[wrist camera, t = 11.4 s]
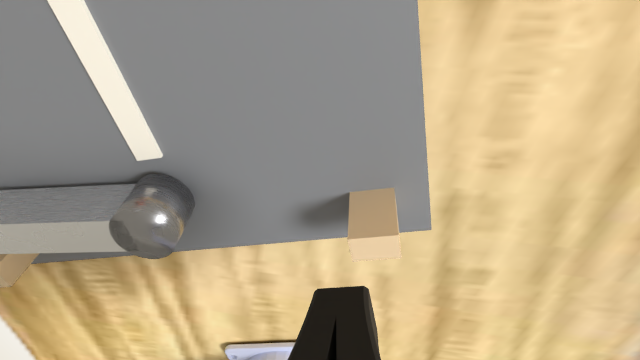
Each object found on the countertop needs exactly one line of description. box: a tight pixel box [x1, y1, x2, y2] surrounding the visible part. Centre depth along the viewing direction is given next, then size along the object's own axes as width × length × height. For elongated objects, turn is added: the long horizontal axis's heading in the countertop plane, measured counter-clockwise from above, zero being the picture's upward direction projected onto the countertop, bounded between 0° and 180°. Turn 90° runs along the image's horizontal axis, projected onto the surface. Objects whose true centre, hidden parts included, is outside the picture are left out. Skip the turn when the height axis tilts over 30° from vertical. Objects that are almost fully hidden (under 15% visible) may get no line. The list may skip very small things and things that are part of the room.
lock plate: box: [0, 0, 431, 288], centre depth 17 cm, size 16×24×4 cm, turn 102°
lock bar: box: [0, 174, 195, 259], centre depth 19 cm, size 12×3×2 cm, turn 97°
